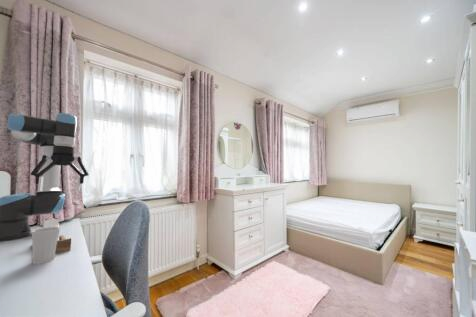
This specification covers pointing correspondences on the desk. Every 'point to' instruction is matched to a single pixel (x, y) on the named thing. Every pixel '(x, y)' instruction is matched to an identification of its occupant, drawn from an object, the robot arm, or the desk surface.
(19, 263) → the desk surface
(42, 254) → the cup
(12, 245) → the desk surface
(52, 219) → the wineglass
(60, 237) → the cradle
